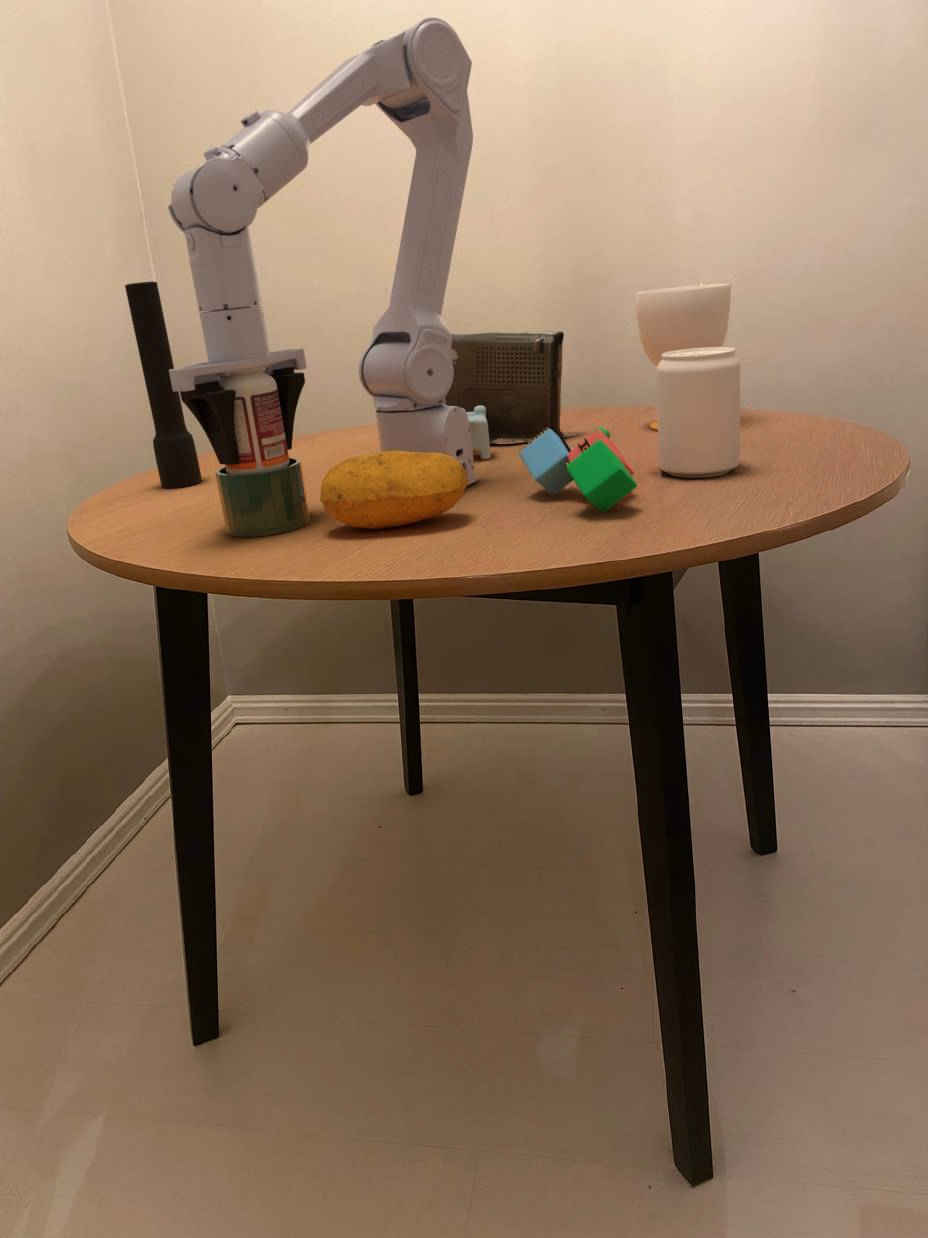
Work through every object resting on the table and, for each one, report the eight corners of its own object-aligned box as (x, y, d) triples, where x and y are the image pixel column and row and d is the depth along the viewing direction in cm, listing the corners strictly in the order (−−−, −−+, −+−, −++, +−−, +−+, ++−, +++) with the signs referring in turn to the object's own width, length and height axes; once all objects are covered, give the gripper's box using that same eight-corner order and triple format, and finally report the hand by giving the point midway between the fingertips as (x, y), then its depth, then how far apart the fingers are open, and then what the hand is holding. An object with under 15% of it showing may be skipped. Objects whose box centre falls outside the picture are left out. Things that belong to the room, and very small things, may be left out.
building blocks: (588, 553, 90) (535, 467, 96) (657, 500, 87) (599, 415, 93) (549, 524, 84) (496, 434, 90) (623, 466, 81) (563, 378, 87)
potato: (332, 521, 92) (321, 452, 90) (471, 508, 91) (464, 439, 89) (319, 543, 85) (308, 468, 82) (471, 529, 84) (464, 454, 82)
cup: (639, 435, 119) (635, 294, 113) (638, 420, 130) (635, 290, 124) (735, 429, 117) (736, 284, 111) (726, 414, 128) (726, 282, 122)
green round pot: (326, 516, 94) (317, 457, 92) (274, 538, 88) (264, 475, 86) (262, 513, 98) (252, 456, 96) (209, 535, 92) (197, 474, 90)
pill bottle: (289, 461, 95) (270, 345, 91) (291, 472, 89) (271, 348, 85) (226, 469, 93) (204, 352, 90) (225, 481, 88) (202, 356, 84)
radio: (579, 434, 124) (573, 317, 119) (552, 447, 117) (544, 323, 112) (431, 434, 136) (419, 327, 131) (398, 446, 129) (384, 334, 124)
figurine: (487, 449, 121) (482, 401, 119) (492, 460, 113) (488, 409, 111) (456, 452, 121) (451, 404, 119) (460, 464, 113) (454, 412, 111)
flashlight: (197, 485, 116) (205, 477, 121) (156, 280, 108) (167, 280, 113) (157, 490, 116) (167, 481, 121) (113, 284, 108) (125, 284, 113)
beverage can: (742, 477, 93) (743, 352, 89) (658, 481, 95) (655, 358, 90) (736, 460, 100) (737, 344, 96) (659, 464, 102) (656, 350, 98)
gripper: (262, 304, 94) (285, 440, 98) (137, 319, 83) (169, 470, 88) (311, 299, 89) (332, 442, 94) (185, 315, 79) (216, 474, 84)
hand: (256, 456), depth 91 cm, fingers closed on pill bottle, 6 cm apart
